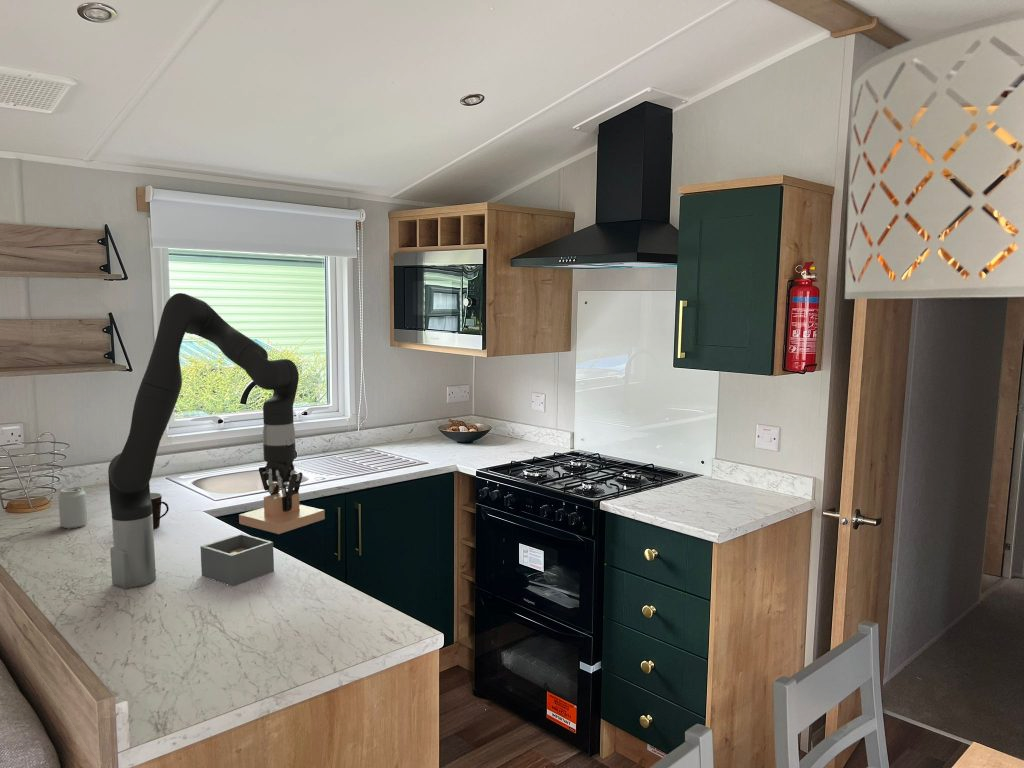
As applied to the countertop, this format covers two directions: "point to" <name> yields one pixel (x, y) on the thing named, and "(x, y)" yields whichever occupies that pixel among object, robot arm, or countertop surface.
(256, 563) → the storage box
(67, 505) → the can
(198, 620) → the countertop surface
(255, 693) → the countertop surface
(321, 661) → the countertop surface
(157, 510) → the coffee mug
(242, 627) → the countertop surface
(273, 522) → the lid
